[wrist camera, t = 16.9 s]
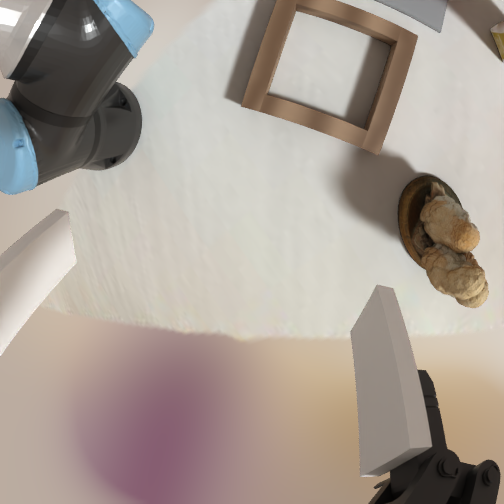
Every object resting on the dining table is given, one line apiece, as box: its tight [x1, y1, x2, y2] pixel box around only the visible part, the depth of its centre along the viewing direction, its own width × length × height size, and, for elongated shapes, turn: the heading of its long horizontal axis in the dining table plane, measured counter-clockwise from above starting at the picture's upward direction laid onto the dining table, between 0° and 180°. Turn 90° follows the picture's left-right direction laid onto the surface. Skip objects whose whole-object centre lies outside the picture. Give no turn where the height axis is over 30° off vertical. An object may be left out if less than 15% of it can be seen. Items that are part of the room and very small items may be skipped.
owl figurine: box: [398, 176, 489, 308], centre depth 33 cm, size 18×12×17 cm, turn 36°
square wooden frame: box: [241, 0, 418, 155], centre depth 32 cm, size 19×19×3 cm
